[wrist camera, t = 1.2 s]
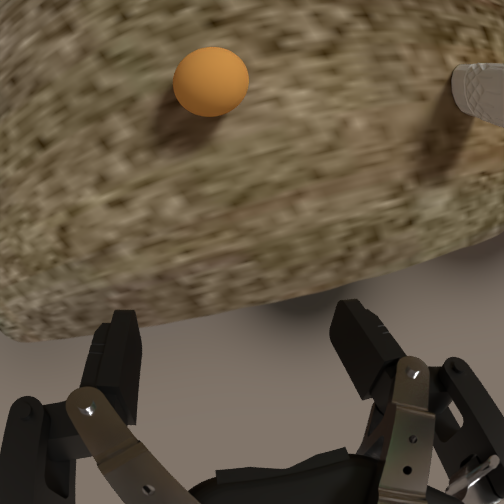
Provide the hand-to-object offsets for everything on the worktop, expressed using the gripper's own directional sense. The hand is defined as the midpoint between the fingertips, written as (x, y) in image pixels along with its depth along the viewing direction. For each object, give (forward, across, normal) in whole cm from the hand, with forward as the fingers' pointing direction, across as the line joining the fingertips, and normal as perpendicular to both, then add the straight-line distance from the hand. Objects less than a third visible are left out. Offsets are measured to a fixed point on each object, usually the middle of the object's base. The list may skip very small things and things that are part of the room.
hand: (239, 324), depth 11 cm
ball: (+14, +1, -10) cm, 17 cm away
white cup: (+17, -29, -16) cm, 37 cm away
